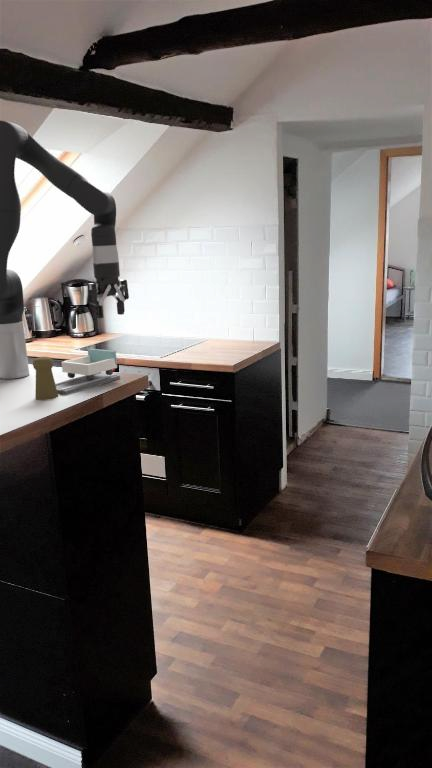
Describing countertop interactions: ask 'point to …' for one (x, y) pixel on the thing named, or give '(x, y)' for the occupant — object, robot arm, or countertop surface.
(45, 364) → the olive green pepper mill
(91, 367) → the cart
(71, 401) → the countertop surface
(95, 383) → the rail board
